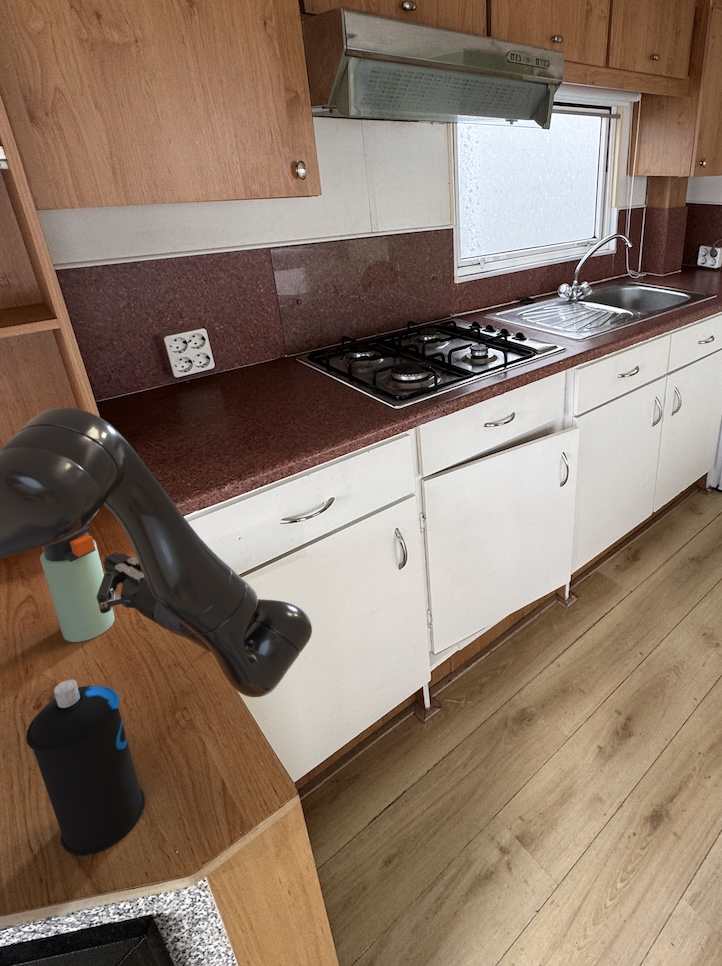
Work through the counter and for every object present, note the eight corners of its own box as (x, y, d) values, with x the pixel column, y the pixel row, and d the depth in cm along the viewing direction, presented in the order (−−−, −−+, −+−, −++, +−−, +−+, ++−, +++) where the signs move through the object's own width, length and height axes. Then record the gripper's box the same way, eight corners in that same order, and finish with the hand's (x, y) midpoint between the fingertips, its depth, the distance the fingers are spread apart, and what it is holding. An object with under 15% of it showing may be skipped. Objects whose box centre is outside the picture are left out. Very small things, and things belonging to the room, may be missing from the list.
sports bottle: (53, 631, 95) (19, 518, 88) (100, 606, 101) (71, 498, 94) (80, 650, 91) (47, 534, 84) (127, 623, 97) (100, 511, 90)
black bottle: (85, 872, 62) (40, 734, 55) (46, 831, 66) (-1, 698, 59) (160, 805, 69) (127, 675, 62) (120, 772, 73) (85, 646, 66)
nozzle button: (72, 553, 88) (69, 541, 87) (89, 546, 90) (86, 533, 89) (78, 557, 87) (75, 544, 87) (95, 549, 89) (92, 536, 88)
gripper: (223, 551, 81) (150, 517, 89) (127, 606, 70) (53, 562, 78) (230, 595, 84) (158, 558, 92) (139, 655, 73) (66, 607, 81)
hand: (110, 560), depth 85 cm, fingers closed
